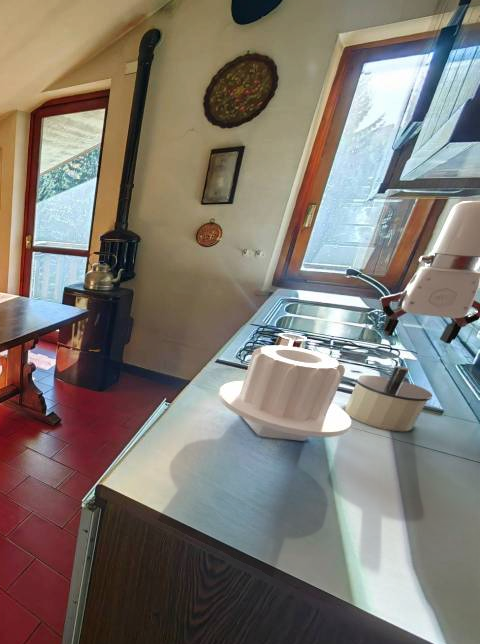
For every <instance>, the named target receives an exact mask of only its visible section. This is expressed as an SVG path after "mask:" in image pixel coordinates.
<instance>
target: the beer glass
mask: <svg viewBox="0 0 480 644" xmlns="http://www.w3.org/2000/svg"><path fill="white" fill-rule="evenodd" d="M307 340H308V338H307V337H306V336H303V335H300V334H295V333H287V332H283V333H282V332H281V333H279V334H278V336H277V338H276V340H275V343H274V345H273V346H279V345H282V346H290V347H297V348H302V349H306V345H307Z"/></svg>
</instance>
